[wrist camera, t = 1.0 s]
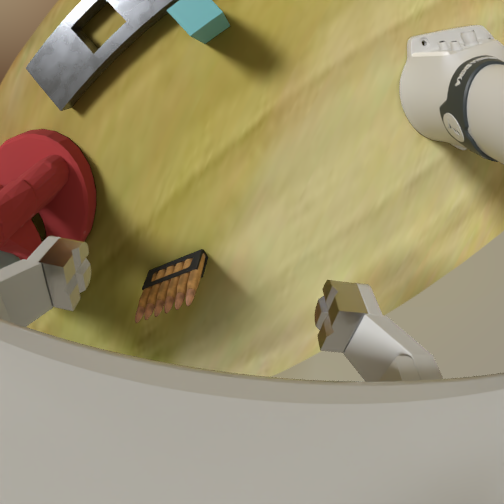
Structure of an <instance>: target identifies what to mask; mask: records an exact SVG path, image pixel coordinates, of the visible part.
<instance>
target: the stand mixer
mask: <svg viewBox="0 0 504 504" xmlns="http://www.w3.org/2000/svg"><path fill="white" fill-rule="evenodd" d="M95 210H96V188H95V184H94V179H93V175H92V172H91V168H90V165H89V163H88V162H87V160H86V158H85V157H84V155H83V153H82V152H81V150H80V148H79V147H78V146H76V145H75V144H74V143H73V142H72V141H71V140H70V139H69V138H68V137H66V136H64V135H62V134H60V133H58V132H56V131H51V130H46V129H38V130H30V131H27V132H25V133H22V134H20V135H17V136H15V137H13V138H10V139H8V140H6V141H5V142H4V143H3V144H2V145H1V147H0V269H2V268H4V267H6V266H8V265H11V264H13V263H15V262H18V261H20V260H22V259H25V260H27V258H28V257H29V256H30V255H31V254H32V253H33V252H34V251H35V250H36V249H37V247H38V246H39V245H40V244H41V243H42V241H41V238H40V236H39V233H38V231H37V229H36V227H35V226H34V224H33V222H32V220H31V218H32V217H33V216H34V215H36V214H37V213H39V214H40V216H41V218H42V220H43V223H44V226H45V230H46V238H47V237H48V236H56V237H61V238H67V239H72V240H77V241H82V242H84V241H85V239H86V238H87V236H88V234H89V233H90V231H91V229H92V225H93V221H94V215H95Z"/></svg>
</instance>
